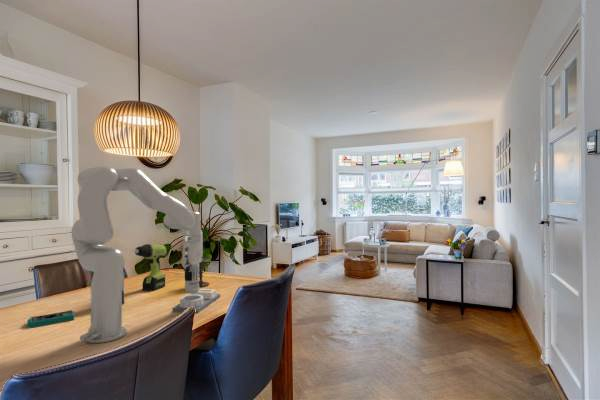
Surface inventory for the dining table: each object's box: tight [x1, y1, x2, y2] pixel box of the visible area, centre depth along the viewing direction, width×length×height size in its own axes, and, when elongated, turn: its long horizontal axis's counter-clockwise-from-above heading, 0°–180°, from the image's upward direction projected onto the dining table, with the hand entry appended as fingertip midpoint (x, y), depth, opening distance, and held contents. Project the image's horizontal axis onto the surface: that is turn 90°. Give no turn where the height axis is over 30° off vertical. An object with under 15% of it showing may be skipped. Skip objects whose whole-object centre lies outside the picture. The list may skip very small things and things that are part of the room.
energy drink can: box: [184, 262, 200, 294], centre depth 148 cm, size 6×6×15 cm
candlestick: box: [199, 224, 212, 288], centre depth 188 cm, size 11×11×35 cm
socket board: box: [172, 288, 221, 314], centre depth 154 cm, size 24×12×4 cm, turn 171°
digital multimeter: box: [26, 310, 75, 329], centre depth 131 cm, size 7×15×3 cm, turn 127°
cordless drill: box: [133, 243, 167, 292], centre depth 177 cm, size 23×7×25 cm, turn 167°
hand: (192, 278), depth 148 cm, fingers closed on energy drink can, 6 cm apart
